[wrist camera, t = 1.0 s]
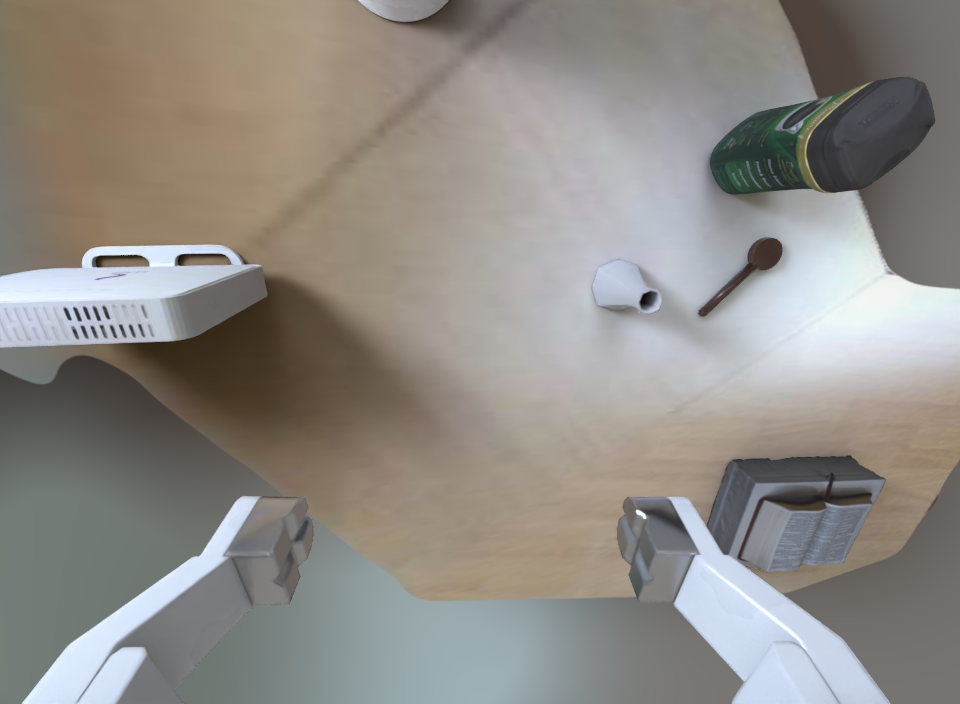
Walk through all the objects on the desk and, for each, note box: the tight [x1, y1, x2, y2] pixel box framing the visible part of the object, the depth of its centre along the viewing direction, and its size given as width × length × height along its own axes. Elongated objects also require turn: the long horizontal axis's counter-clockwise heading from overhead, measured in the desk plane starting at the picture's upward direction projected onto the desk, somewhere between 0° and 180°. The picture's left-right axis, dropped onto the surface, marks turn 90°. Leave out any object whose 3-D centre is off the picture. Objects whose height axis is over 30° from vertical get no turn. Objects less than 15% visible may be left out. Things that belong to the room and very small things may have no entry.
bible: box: [707, 456, 886, 572], centre depth 70 cm, size 23×27×10 cm
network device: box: [0, 245, 268, 347], centre depth 42 cm, size 26×9×20 cm, turn 90°
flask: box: [592, 260, 663, 314], centre depth 52 cm, size 7×7×10 cm
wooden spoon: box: [699, 238, 782, 317], centre depth 58 cm, size 14×4×1 cm, turn 138°
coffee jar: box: [710, 77, 935, 194], centre depth 43 cm, size 10×8×19 cm
